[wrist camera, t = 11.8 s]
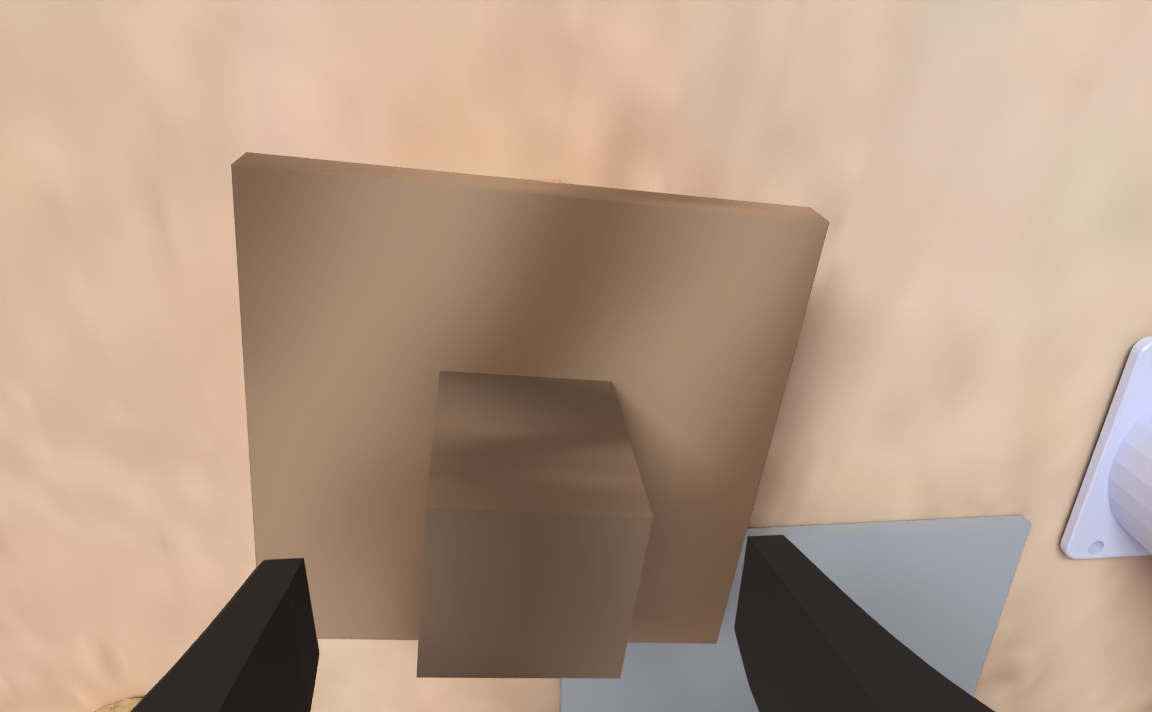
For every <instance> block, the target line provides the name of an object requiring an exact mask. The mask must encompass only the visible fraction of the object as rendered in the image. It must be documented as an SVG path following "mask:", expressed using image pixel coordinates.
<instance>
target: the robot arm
mask: <svg viewBox="0 0 1152 712" xmlns="http://www.w3.org/2000/svg"><path fill="white" fill-rule="evenodd" d="M1060 547H1061V549H1062V551H1063V552H1064V553H1065V554H1066V555H1067V556H1068V557H1070V558H1071V559H1089V558H1107V557H1125V556H1143V555H1152V336H1147V337H1145V338H1143V339H1141V340H1139V341H1138V342H1137V343H1136V344H1135V345H1134V346H1133V348H1132V350H1131V352H1130V355H1129V357H1128V360H1127V363H1126V366H1125V368H1124V371H1123V374H1122V377H1121V379H1120V382H1119V385H1118V387H1117V390H1116V393H1115V396H1114V398H1113V401H1112V404H1111V407H1110V409H1109V412H1108V415H1107V417H1106V420H1105V423H1104V426H1103V428H1102V431H1101V434H1100V437H1099V439H1098V442H1097V445H1096V448H1095V450H1094V453H1093V456H1092V458H1091V461H1090V464H1089V467H1088V469H1087V472H1086V475H1085V478H1084V480H1083V483H1082V486H1081V488H1080V491H1079V494H1078V497H1077V499H1076V502H1075V505H1074V508H1073V510H1072V513H1071V516H1070V518H1069V521H1068V524H1067V527H1066V529H1065V532H1064V535H1063V538H1062V540H1061V545H1060ZM734 630H735V634H736V638H737V642H738V646H739V650H740V654H741V658H742V662H743V665H744V669H745V673H746V676H747V680H748V684H749V687H750V690H751V692H752V695H753V697H754V700H755V703H756V705H757V708H758V710H759V712H995V711H993V710H992V709H990V708H989V707H987V706H986V705H984V704H983V703H981V702H980V701H979V700H977V699H976V698H974V697H973V696H971V695H970V694H969V693H967V692H966V691H964V690H963V689H961V688H960V687H959V686H957V685H956V684H954V683H953V682H952V681H950V680H949V679H947V678H946V677H945V676H943V675H942V674H941V673H939V672H938V671H937V670H935V669H934V668H933V667H931V666H930V665H929V664H928V663H926V662H925V661H924V660H923V659H921V658H920V657H919V656H918V655H916V654H915V653H914V652H913V651H911V650H910V649H909V648H908V647H906V646H905V645H904V644H903V643H901V642H900V641H899V640H898V639H896V638H895V637H894V636H893V635H892V634H891V633H889V632H888V631H887V630H886V629H885V628H884V627H882V626H881V625H880V624H879V623H878V622H877V621H875V620H874V619H873V618H872V617H871V616H870V615H869V614H867V613H866V612H865V611H864V610H863V609H862V608H861V607H860V606H859V605H857V604H856V603H855V602H854V601H853V600H852V599H851V598H850V597H849V596H848V595H846V594H845V593H844V592H843V591H842V590H841V589H840V588H839V587H838V586H837V585H836V584H835V583H834V582H833V581H831V580H830V579H829V578H828V577H827V576H826V575H825V574H824V573H823V572H822V571H821V570H820V569H819V568H818V567H817V566H816V565H815V564H814V563H813V562H812V561H810V560H809V559H808V558H807V557H806V556H805V555H804V554H803V553H802V552H801V551H800V550H799V549H798V548H797V547H796V546H795V545H794V544H793V543H792V542H791V541H789V540H788V539H787V538H786V537H785V536H784V535H763V536H748V537H747V544H746V550H745V557H744V564H743V571H742V578H741V584H740V591H739V598H738V605H737V612H736V618H735V625H734ZM318 659H319V648H318V642H317V636H316V629H315V623H314V617H313V611H312V605H311V599H310V592H309V586H308V580H307V574H306V568H305V562H304V558H290V559H269V560H263V561H262V562H261V563H260V564H259V565H258V566H257V567H256V569H255V570H254V571H253V572H252V574H251V575H250V576H249V577H248V579H247V580H246V581H245V582H244V584H243V585H242V586H241V587H240V589H239V590H238V591H237V592H236V593H235V595H234V596H233V597H232V598H231V600H230V601H229V602H228V603H227V604H226V606H225V607H224V608H223V609H222V611H221V612H220V613H219V614H218V615H217V616H216V618H215V619H214V620H213V621H212V622H211V624H210V625H209V626H208V627H207V628H206V630H205V631H204V632H203V633H202V634H201V635H200V636H199V638H198V639H197V640H196V641H195V642H194V643H193V644H192V646H191V647H190V648H189V649H188V650H187V651H186V652H185V653H184V655H183V656H182V657H181V658H180V659H179V660H178V661H177V663H176V664H175V665H174V666H173V667H172V668H171V669H170V670H169V671H168V672H167V673H166V675H165V676H164V677H163V678H162V679H161V680H160V681H159V682H158V683H157V684H156V685H155V686H154V687H153V688H152V689H151V690H150V691H149V692H148V693H147V694H146V695H145V696H144V697H143V698H142V700H141V701H140V702H139V703H138V704H137V705H136V706H135V707H134V708H133V709H132V710H131V711H130V712H310V710H311V704H312V698H313V692H314V686H315V679H316V673H317V666H318Z"/></svg>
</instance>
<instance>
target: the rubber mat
mask: <svg viewBox="0 0 1152 712" xmlns="http://www.w3.org/2000/svg"><path fill="white" fill-rule="evenodd" d="M1030 527H1031V524H1030V523H1029V522H1028V521H1027V520H1026V519H1025V518H1024V517H1023V516H1022V515H1011V516H991V517H970V518H950V519H930V520H909V521H889V522H869V523H848V524H828V525H808V526H787V527H767V528H747V532H746V535H745V539H744V543H743V546H742V550H741V554H740V558H739V561H738V565H737V569H736V573H735V576H734V580H733V584H732V587H731V591H730V595H729V599H728V602H727V606H726V610H725V614H724V617H723V621H722V625H721V629H720V632H719V636H718V640H717V643H716V644H698V643H627V647H626V652H625V657H624V662H623V667H622V672H621V677H620V679H616V678H561V686H560V712H759V710H758V708H757V705H756V703H755V700H754V697H753V695H752V692H751V690H750V687H749V684H748V680H747V676H746V673H745V669H744V665H743V662H742V658H741V654H740V650H739V646H738V642H737V638H736V634H735V630H734V625H735V618H736V612H737V605H738V598H739V591H740V584H741V578H742V571H743V564H744V557H745V550H746V544H747V537H748V536H763V535H784V536H785V537H786V538H787V539H788V540H789V541H791V542H792V543H793V544H794V545H795V546H796V547H797V548H798V549H799V550H800V551H801V552H802V553H803V554H804V555H805V556H806V557H807V558H808V559H809V560H810V561H812V562H813V563H814V564H815V565H816V566H817V567H818V568H819V569H820V570H821V571H822V572H823V573H824V574H825V575H826V576H827V577H828V578H829V579H830V580H831V581H833V582H834V583H835V584H836V585H837V586H838V587H839V588H840V589H841V590H842V591H843V592H844V593H845V594H846V595H848V596H849V597H850V598H851V599H852V600H853V601H854V602H855V603H856V604H857V605H859V606H860V607H861V608H862V609H863V610H864V611H865V612H866V613H867V614H869V615H870V616H871V617H872V618H873V619H874V620H875V621H877V622H878V623H879V624H880V625H881V626H882V627H884V628H885V629H886V630H887V631H888V632H889V633H891V634H892V635H893V636H894V637H895V638H896V639H898V640H899V641H900V642H901V643H903V644H904V645H905V646H906V647H908V648H909V649H910V650H911V651H913V652H914V653H915V654H916V655H918V656H919V657H920V658H921V659H923V660H924V661H925V662H926V663H928V664H929V665H930V666H931V667H933V668H934V669H935V670H937V671H938V672H939V673H941V674H942V675H943V676H945V677H946V678H947V679H949V680H950V681H952V682H953V683H954V684H956V685H957V686H959V687H960V688H961V689H963V690H964V691H966V692H967V693H969V694H970V695H971V696H973V694H974V691H975V688H976V685H977V682H978V679H979V676H980V674H981V671H982V668H983V665H984V662H985V659H986V656H987V653H988V650H989V647H990V644H991V641H992V638H993V635H994V633H995V630H996V627H997V624H998V621H999V618H1000V615H1001V612H1002V609H1003V606H1004V603H1005V600H1006V597H1007V594H1008V592H1009V589H1010V586H1011V583H1012V580H1013V577H1014V574H1015V571H1016V568H1017V565H1018V562H1019V559H1020V556H1021V554H1022V551H1023V548H1024V545H1025V542H1026V539H1027V536H1028V533H1029V530H1030Z"/></svg>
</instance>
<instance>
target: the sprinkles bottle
mask: <svg viewBox="0 0 1152 712" xmlns="http://www.w3.org/2000/svg"><path fill="white" fill-rule="evenodd" d="M141 700H142V698H131V699H125V700H122V701H119V702H116V703H113V704H108V705H106V706H104V707H102V708H100V709H98V710H96V711H95V712H130V711H131V710H132V709H133V708H134V707H135V706H136V705H137V704H138V703H139V702H140V701H141Z"/></svg>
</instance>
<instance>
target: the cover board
mask: <svg viewBox="0 0 1152 712" xmlns="http://www.w3.org/2000/svg"><path fill="white" fill-rule="evenodd" d="M231 169H232V185H233V201H234V217H235V233H236V249H237V265H238V281H239V297H240V314H241V330H242V346H243V362H244V378H245V394H246V410H247V426H248V442H249V458H250V474H251V490H252V506H253V522H254V539H255V555H256V567H257V566H258V565H259V564H260V563H261V562H262V561H263V560H269V559H290V558H304V562H305V568H306V574H307V580H308V586H309V592H310V599H311V605H312V611H313V617H314V623H315V629H316V636H317V639H379V640H419V642H418V661H417V677H442V678H616V679H620V677H621V672H622V667H623V662H624V657H625V652H626V647H627V643H698V644H716V643H717V640H718V636H719V632H720V629H721V625H722V621H723V617H724V614H725V610H726V606H727V602H728V599H729V595H730V591H731V587H732V584H733V580H734V576H735V573H736V569H737V565H738V561H739V558H740V554H741V550H742V546H743V543H744V539H745V535H746V532H747V528H748V524H749V520H750V517H751V513H752V509H753V505H754V502H755V498H756V494H757V490H758V487H759V483H760V479H761V476H762V472H763V468H764V464H765V461H766V457H767V453H768V449H769V446H770V442H771V438H772V434H773V431H774V427H775V423H776V420H777V416H778V412H779V408H780V405H781V401H782V397H783V393H784V390H785V386H786V382H787V379H788V375H789V371H790V367H791V364H792V360H793V356H794V352H795V349H796V345H797V341H798V337H799V334H800V330H801V326H802V323H803V319H804V315H805V311H806V308H807V304H808V300H809V296H810V293H811V289H812V285H813V282H814V278H815V274H816V270H817V267H818V263H819V259H820V255H821V252H822V248H823V244H824V240H825V237H826V233H827V229H828V226H829V221H828V220H826V219H825V218H824V217H822V216H821V215H820V214H818V213H817V212H816V211H814V210H813V209H812V208H808V207H798V206H788V205H778V204H767V203H757V202H747V201H737V200H727V199H716V198H706V197H696V196H686V195H676V194H665V193H655V192H645V191H635V190H625V189H615V188H604V187H594V186H584V185H574V184H564V183H553V182H543V181H533V180H523V179H513V178H503V177H492V176H482V175H472V174H462V173H452V172H441V171H431V170H421V169H411V168H401V167H391V166H380V165H370V164H360V163H350V162H340V161H329V160H319V159H309V158H299V157H289V156H279V155H268V154H258V153H248V152H246V153H245V154H244V155H243V156H241V157H240V158H239V159H238V160H236V161H235V162H234V163H233V164H231Z"/></svg>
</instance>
